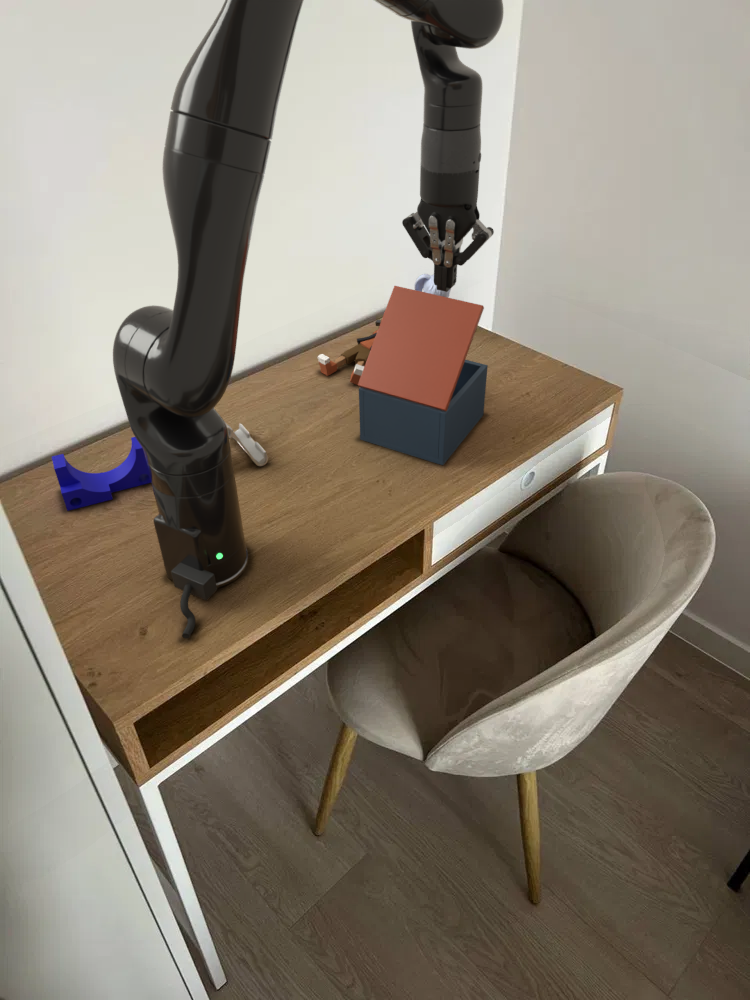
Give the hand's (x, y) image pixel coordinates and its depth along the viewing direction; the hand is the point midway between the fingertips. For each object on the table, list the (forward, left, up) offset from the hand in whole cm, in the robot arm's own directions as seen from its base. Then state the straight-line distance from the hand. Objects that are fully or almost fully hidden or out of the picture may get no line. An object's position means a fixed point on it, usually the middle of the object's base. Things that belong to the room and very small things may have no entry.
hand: (444, 288), depth 114 cm
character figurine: (+8, +17, -20) cm, 28 cm away
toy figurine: (+21, +11, -20) cm, 31 cm away
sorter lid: (-7, 0, -6) cm, 9 cm away
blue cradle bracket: (-40, +31, -20) cm, 54 cm away
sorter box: (-6, 0, -20) cm, 21 cm away
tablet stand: (-26, +21, -20) cm, 39 cm away
